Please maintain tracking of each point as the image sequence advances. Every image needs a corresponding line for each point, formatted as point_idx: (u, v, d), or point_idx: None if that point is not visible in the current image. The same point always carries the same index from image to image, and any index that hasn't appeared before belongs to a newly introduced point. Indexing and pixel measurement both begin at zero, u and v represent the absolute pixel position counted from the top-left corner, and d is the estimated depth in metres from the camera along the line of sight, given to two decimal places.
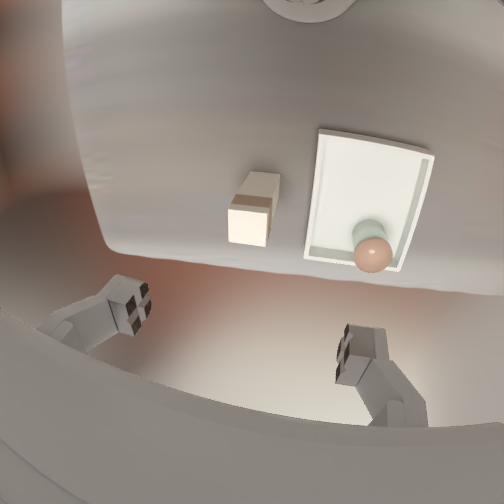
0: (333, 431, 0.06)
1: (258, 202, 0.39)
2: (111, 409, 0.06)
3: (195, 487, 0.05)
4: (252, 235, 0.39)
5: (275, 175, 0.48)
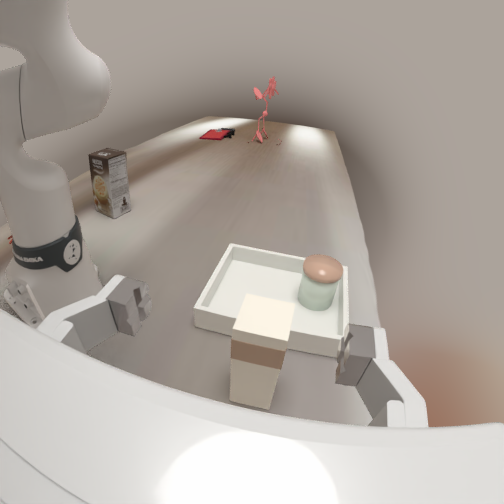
0: (333, 430, 0.06)
1: None
2: (111, 409, 0.06)
3: (195, 488, 0.05)
4: (277, 312, 0.28)
5: None
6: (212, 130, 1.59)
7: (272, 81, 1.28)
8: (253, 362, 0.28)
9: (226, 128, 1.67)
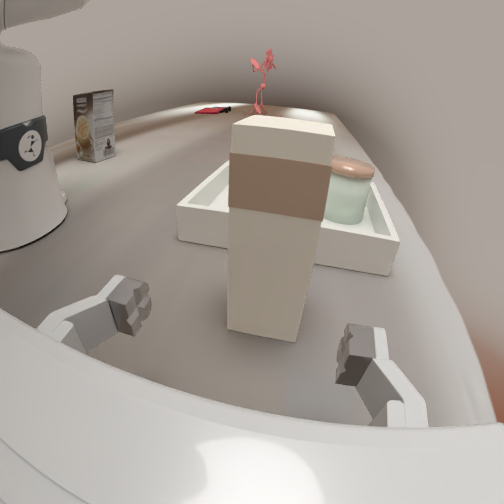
0: (333, 431, 0.06)
1: None
2: (111, 409, 0.06)
3: (195, 487, 0.05)
4: (307, 124, 0.16)
5: None
6: (207, 108, 1.49)
7: (269, 53, 1.17)
8: (271, 210, 0.16)
9: (222, 107, 1.57)
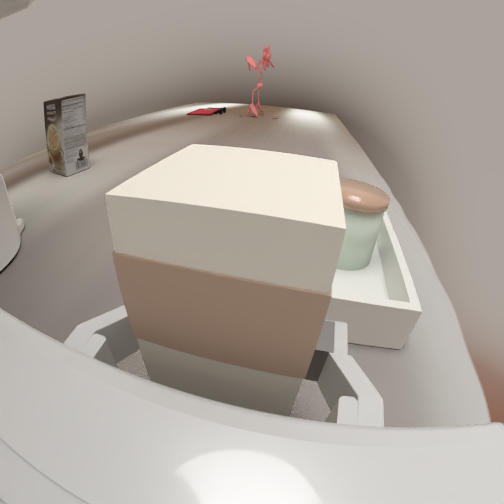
0: (333, 431, 0.06)
1: None
2: (111, 409, 0.06)
3: (195, 487, 0.05)
4: (285, 167, 0.08)
5: None
6: (201, 109, 1.41)
7: (267, 50, 1.09)
8: (206, 354, 0.08)
9: (216, 108, 1.49)
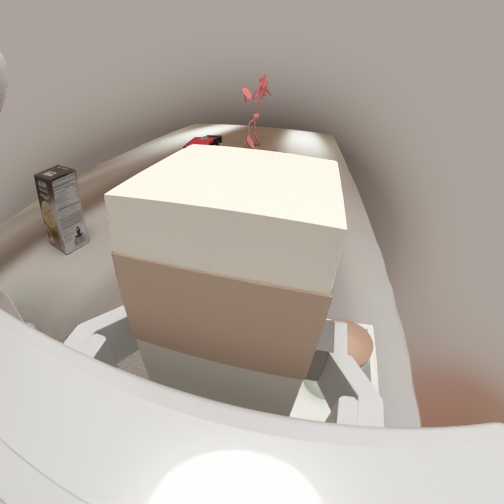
0: (333, 430, 0.06)
1: None
2: (111, 409, 0.06)
3: (195, 487, 0.05)
4: (285, 167, 0.08)
5: None
6: (197, 138, 1.43)
7: (263, 79, 1.12)
8: (206, 355, 0.08)
9: (212, 135, 1.52)
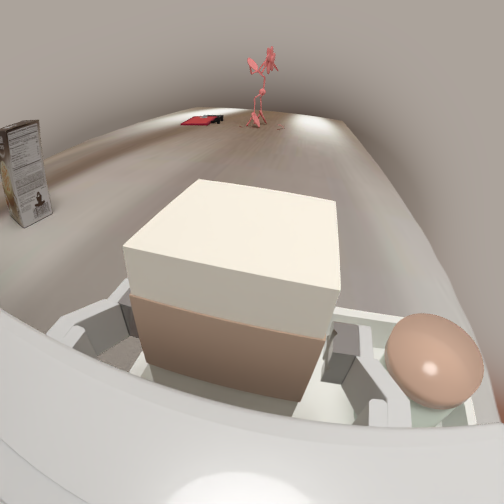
0: (333, 431, 0.06)
1: None
2: (111, 409, 0.06)
3: (195, 487, 0.05)
4: (287, 213, 0.09)
5: None
6: (196, 117, 1.28)
7: (270, 52, 0.97)
8: (213, 380, 0.09)
9: (212, 115, 1.36)
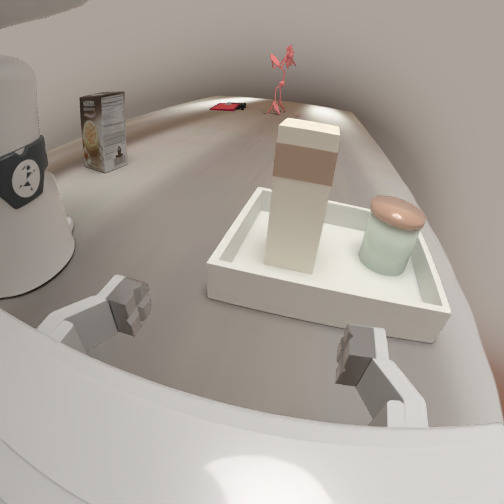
0: (333, 431, 0.06)
1: None
2: (111, 409, 0.06)
3: (195, 488, 0.05)
4: (322, 126, 0.25)
5: None
6: (221, 103, 1.42)
7: (290, 49, 1.10)
8: (300, 178, 0.25)
9: None
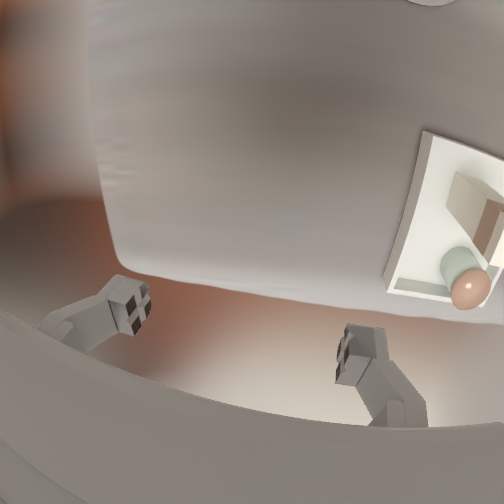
0: (333, 431, 0.06)
1: None
2: (111, 409, 0.06)
3: (195, 488, 0.05)
4: None
5: (481, 181, 0.29)
6: None
7: None
8: (481, 220, 0.24)
9: None
